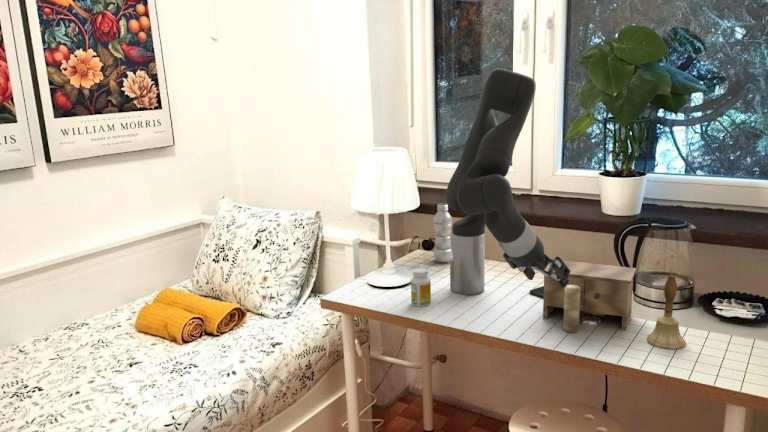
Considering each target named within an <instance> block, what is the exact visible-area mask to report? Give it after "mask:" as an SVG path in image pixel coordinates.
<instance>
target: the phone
mask: <svg viewBox="0 0 768 432" xmlns="http://www.w3.org/2000/svg"><path fill="white" fill-rule="evenodd" d="M529 295H531V296H534V297H537V298H540V299H542V300H543V299H544V285H543V286H539V287H537V288H536V287H535V288H533V289H530V290H529Z"/></svg>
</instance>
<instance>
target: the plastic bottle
mask: <svg viewBox="0 0 768 432" xmlns="http://www.w3.org/2000/svg"><path fill="white" fill-rule="evenodd" d="M436 206H437V208H436V210H437V212H436V213H435V215H434V217H433V228H434V237H435V239H434V240H435V241H434V250H433V257H434V258H433V259H434V260H435V262H438V263H450V259H452V258H453V247H452V240H451V239H452V238H451V236H452V227H453V218H452V216H451V214H450V212H449V206H448V204H447V203H445V202H444V203H438V204H437V205H436Z"/></svg>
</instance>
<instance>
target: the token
mask: <svg viewBox="0 0 768 432" xmlns="http://www.w3.org/2000/svg"><path fill="white" fill-rule="evenodd" d="M581 324H583V325H584V326H587V327H597V326H600V324H601V318H599V317H597V316H595V315H585V316H584V315H583V317H582V318H581Z"/></svg>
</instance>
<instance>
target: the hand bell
mask: <svg viewBox="0 0 768 432" xmlns="http://www.w3.org/2000/svg"><path fill="white" fill-rule="evenodd" d="M663 287H664V289H663V294H664V299H665V304H664V306H665V307H664V312H663V315H662V316H659V317H658V318H657V319H656V323H655V327H654V328H653V330H652V332H651V333H650V334H648V335H647V337H646V341H647V343H648V344H651V345H652V346H654V347H657V348H662V349H668V350H677V349H683V348H685V347H686V345H687V342H686V339H685V338H683V337H682V334H681V332H680V329H679V328H680V327H679V321H678V319H676V318H675V317H673V307H674V301H675V298H676V296H677V292H678V291H677V290H678V284H677V281H676V275H673V274H669V275H668V276H667V279H666V281H665V283H664V286H663Z"/></svg>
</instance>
